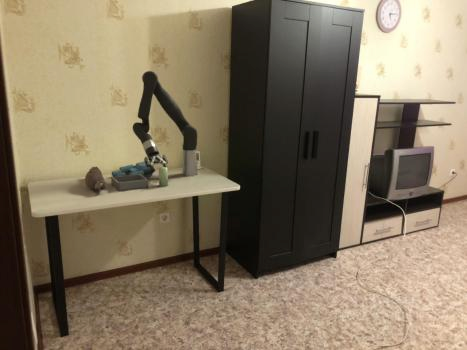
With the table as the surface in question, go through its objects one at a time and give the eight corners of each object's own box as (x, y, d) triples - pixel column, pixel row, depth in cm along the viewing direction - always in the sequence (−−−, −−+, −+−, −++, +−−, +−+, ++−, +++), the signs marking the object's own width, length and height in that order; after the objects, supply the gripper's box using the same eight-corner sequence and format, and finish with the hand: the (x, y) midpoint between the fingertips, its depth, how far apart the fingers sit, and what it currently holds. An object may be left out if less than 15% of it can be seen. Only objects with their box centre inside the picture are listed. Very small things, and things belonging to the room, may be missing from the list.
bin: (140, 181, 233) (139, 174, 232) (148, 187, 221) (147, 179, 220) (112, 185, 224) (111, 177, 223) (118, 191, 212) (118, 183, 211)
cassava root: (88, 199, 202) (107, 197, 207) (87, 180, 199) (107, 179, 203) (81, 175, 236) (98, 174, 241) (80, 158, 233) (97, 158, 237)
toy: (108, 165, 245) (150, 155, 260) (110, 178, 248) (152, 168, 263) (118, 173, 227) (164, 161, 242) (121, 187, 230) (166, 175, 245)
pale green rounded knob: (166, 183, 230) (165, 166, 227) (169, 186, 226) (169, 168, 223) (158, 185, 227) (157, 167, 225) (161, 187, 223) (160, 169, 220)
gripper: (142, 146, 225) (152, 168, 219) (162, 144, 234) (172, 165, 228) (138, 153, 230) (148, 175, 224) (158, 151, 239) (168, 172, 234)
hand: (160, 170), depth 226 cm, fingers open, 8 cm apart
